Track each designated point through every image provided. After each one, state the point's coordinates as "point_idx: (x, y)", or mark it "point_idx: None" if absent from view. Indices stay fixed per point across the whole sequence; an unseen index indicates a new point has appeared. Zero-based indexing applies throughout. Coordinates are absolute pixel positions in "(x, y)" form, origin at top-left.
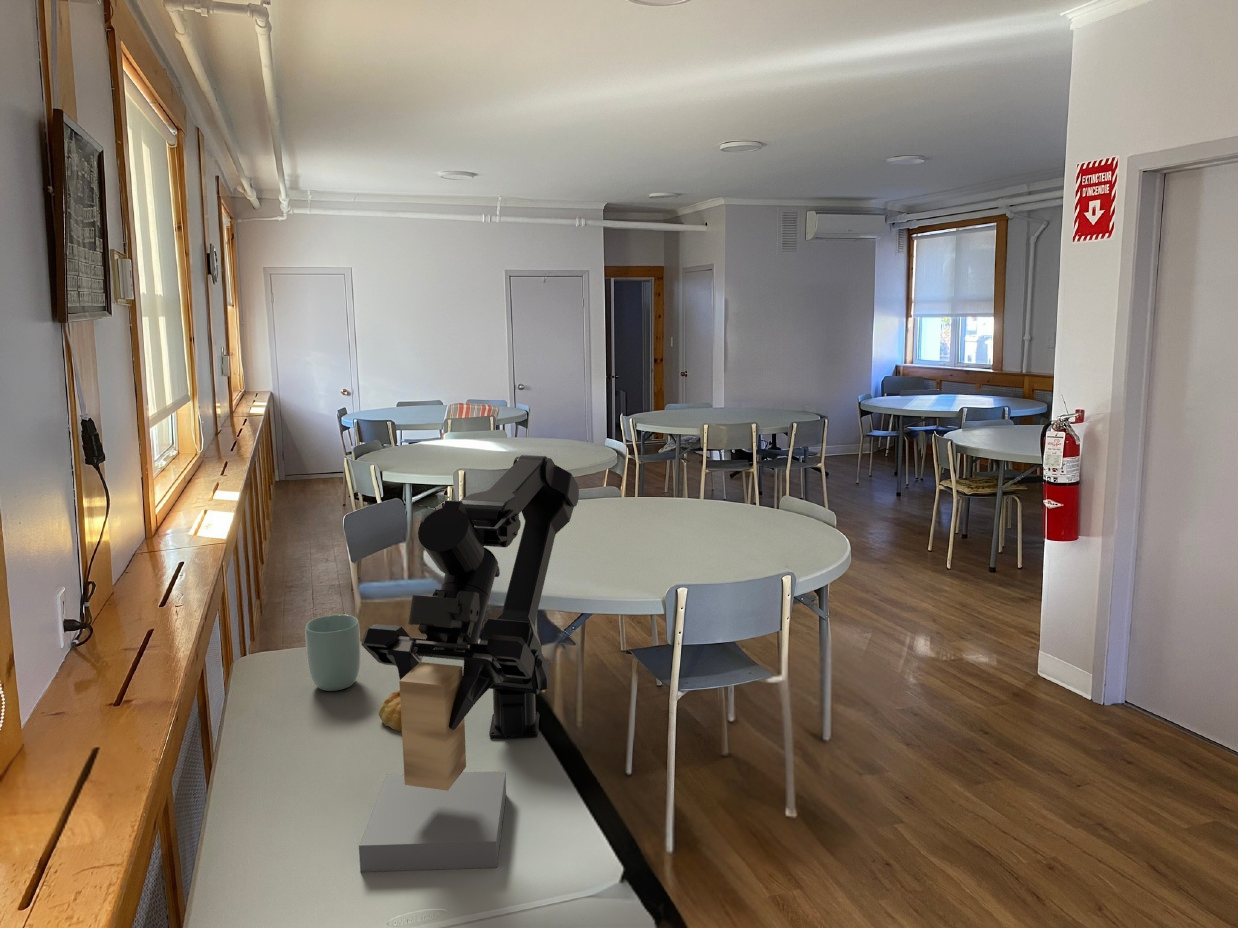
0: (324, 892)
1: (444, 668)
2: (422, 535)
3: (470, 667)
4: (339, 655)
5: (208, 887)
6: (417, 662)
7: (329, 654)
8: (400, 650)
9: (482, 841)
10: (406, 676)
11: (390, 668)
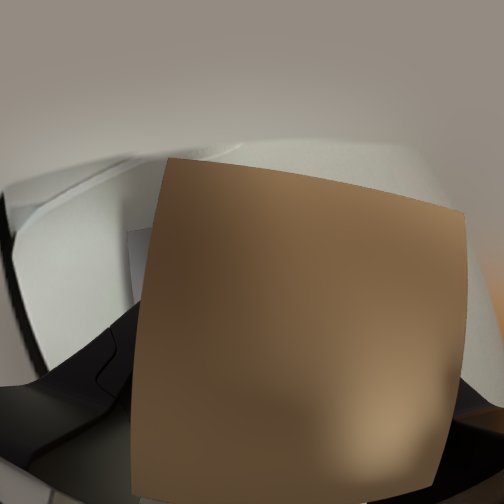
0: (337, 178)
1: (253, 461)
2: None
3: (25, 410)
4: None
5: (440, 186)
6: (434, 496)
7: None
8: None
9: (146, 229)
10: (458, 280)
11: None
